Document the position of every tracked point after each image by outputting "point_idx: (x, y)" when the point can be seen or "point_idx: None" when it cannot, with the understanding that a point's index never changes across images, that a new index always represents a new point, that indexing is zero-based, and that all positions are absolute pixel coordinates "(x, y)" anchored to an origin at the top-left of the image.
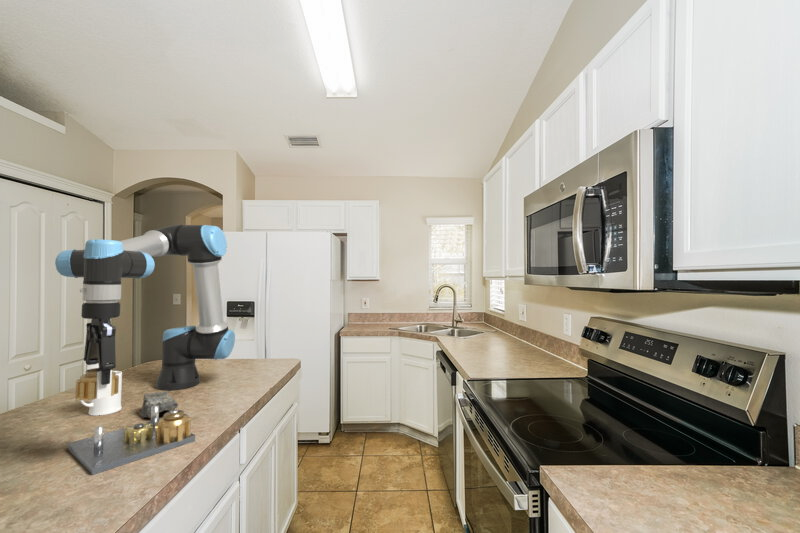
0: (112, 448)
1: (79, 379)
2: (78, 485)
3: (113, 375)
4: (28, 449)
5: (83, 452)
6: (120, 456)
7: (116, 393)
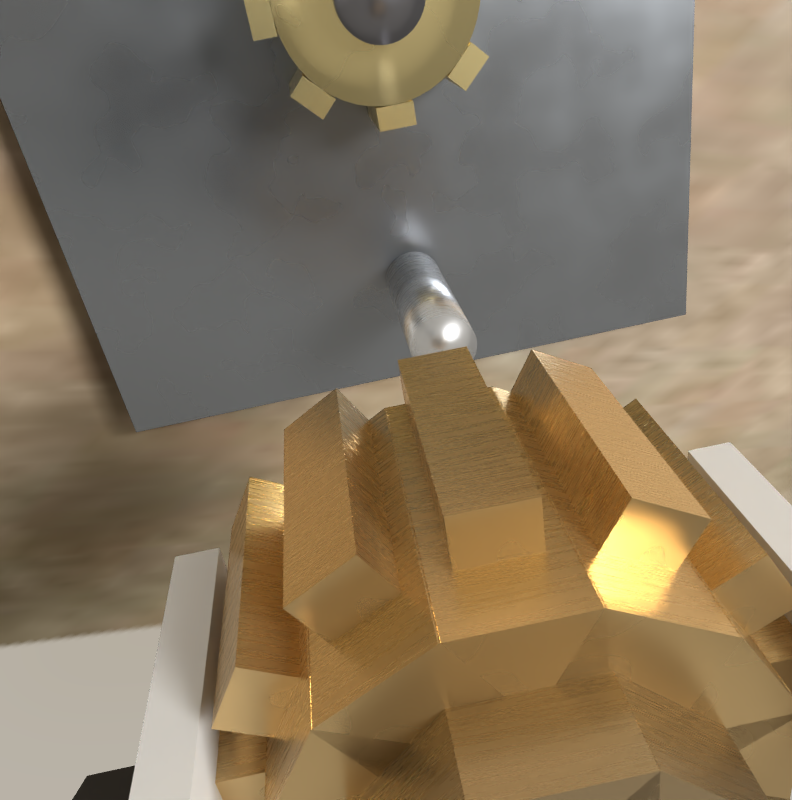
0: (453, 197)
1: None
2: (732, 353)
3: (718, 613)
4: (11, 574)
5: (389, 353)
6: (643, 164)
7: (591, 375)
